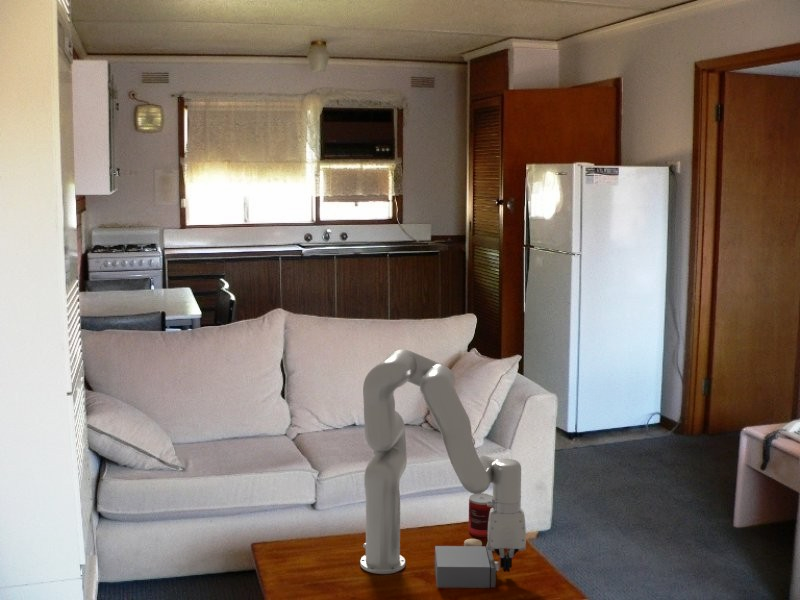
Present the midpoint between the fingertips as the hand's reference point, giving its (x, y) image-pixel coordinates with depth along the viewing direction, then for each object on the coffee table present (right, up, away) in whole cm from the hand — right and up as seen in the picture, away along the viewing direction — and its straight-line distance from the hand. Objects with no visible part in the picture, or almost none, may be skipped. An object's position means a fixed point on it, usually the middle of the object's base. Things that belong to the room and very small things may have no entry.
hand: (505, 569), depth 253 cm
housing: (-12, -2, 0) cm, 12 cm away
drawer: (-10, -2, 0) cm, 10 cm away
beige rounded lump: (-8, 0, +12) cm, 15 cm away
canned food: (-4, +3, +30) cm, 30 cm away
